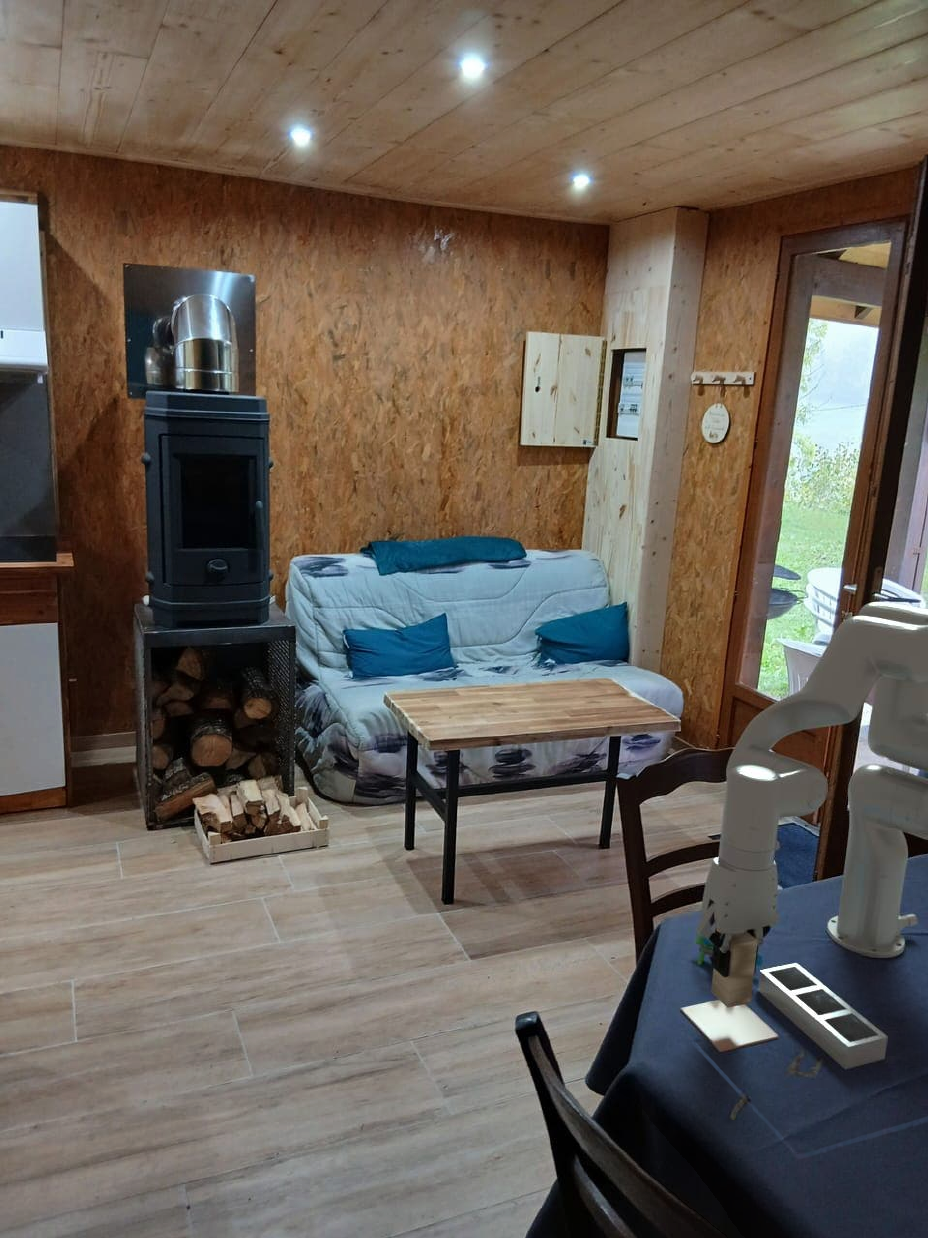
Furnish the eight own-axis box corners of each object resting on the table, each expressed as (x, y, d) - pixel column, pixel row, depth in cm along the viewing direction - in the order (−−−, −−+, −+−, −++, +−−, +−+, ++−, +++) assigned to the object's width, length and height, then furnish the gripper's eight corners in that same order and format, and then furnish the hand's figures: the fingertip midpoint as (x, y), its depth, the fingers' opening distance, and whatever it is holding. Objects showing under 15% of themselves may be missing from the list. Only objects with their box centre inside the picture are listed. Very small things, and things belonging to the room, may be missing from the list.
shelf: (793, 985, 150) (796, 963, 149) (884, 1062, 132) (887, 1037, 132) (757, 993, 147) (760, 970, 146) (844, 1072, 130) (848, 1047, 129)
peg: (733, 987, 140) (740, 926, 138) (750, 1003, 137) (757, 940, 135) (711, 992, 139) (717, 930, 137) (727, 1008, 135) (734, 945, 133)
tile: (735, 1000, 145) (736, 996, 145) (777, 1040, 136) (778, 1036, 136) (680, 1013, 142) (680, 1008, 142) (720, 1055, 133) (720, 1050, 132)
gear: (773, 965, 152) (751, 939, 146) (761, 1000, 150) (738, 975, 144) (712, 945, 160) (689, 921, 154) (700, 978, 158) (676, 954, 152)
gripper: (777, 835, 139) (764, 946, 143) (681, 848, 133) (670, 964, 137) (812, 857, 133) (797, 974, 136) (712, 872, 127) (699, 994, 130)
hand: (733, 968), depth 137 cm, fingers closed on peg, 4 cm apart
